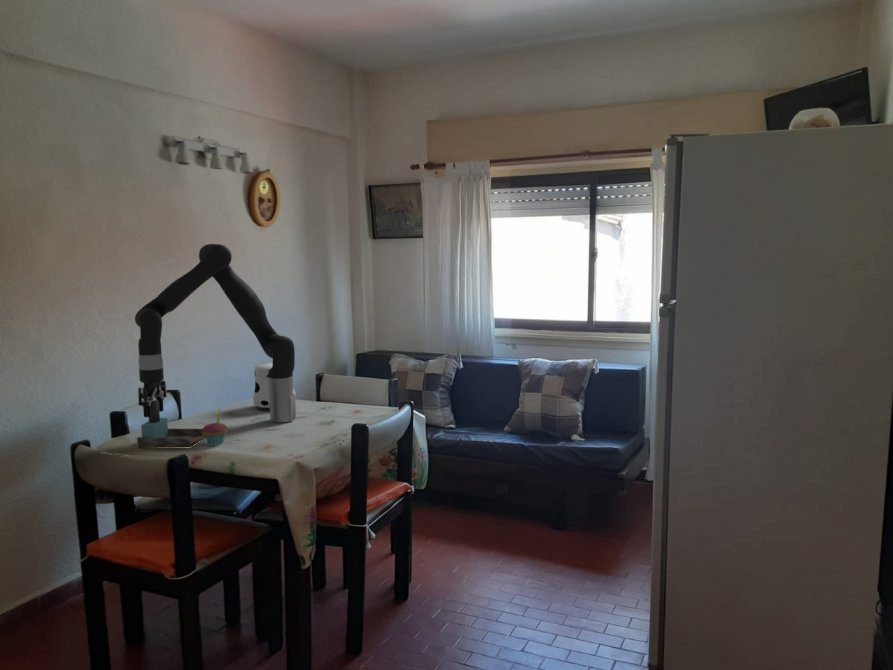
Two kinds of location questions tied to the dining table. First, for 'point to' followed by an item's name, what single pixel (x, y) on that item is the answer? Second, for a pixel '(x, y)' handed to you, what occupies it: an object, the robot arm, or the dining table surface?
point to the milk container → (262, 386)
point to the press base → (173, 439)
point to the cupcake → (215, 432)
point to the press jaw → (155, 423)
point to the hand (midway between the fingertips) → (153, 414)
